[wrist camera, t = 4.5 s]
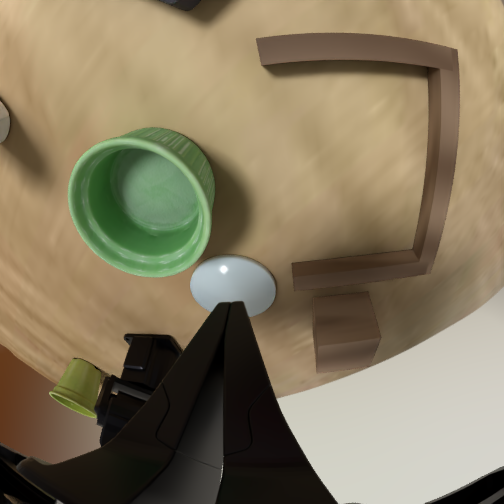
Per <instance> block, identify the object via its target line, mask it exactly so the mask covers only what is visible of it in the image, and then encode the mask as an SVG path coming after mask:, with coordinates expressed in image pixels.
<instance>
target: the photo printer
mask: <svg viewBox="0 0 504 504" xmlns="http://www.w3.org/2000/svg"><path fill="white" fill-rule="evenodd" d="M9 128H10V117H9V113H8V111H7V109H6V108H5V106H4V105H3V104H2V102H1V101H0V143H1V142H3V141H4V140H5V139H6V137H7V135H8V132H9Z"/></svg>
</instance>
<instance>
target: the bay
mask: <svg viewBox="0 0 504 504" xmlns="http://www.w3.org/2000/svg"><path fill="white" fill-rule="evenodd" d="M256 41H257V46H258V51H259V56H260V61H261V65H262V66H263V65H270V64H279V63H288V62H300V61H315V60H370V61H386V62H397V63H406V64H414V65H421V66H427V70H428V89H429V130H428V149H427V162H426V172H425V181H424V189H423V196H422V203H421V209H420V215H419V221H418V226H417V231H416V236H415V241H414V245H413V250H404V251H396V252H388V253H379V254H371V255H362V256H353V257H344V258H335V259H326V260H317V261H307V262H298V263H292V272H293V283H294V291H300V290H310V289H319V288H328V287H337V286H345V285H354V284H361V283H369V282H377V281H384V280H391V279H398V278H405V277H411V276H418V275H424V274H430V273H431V270H432V267H433V264H434V261H435V257H436V254H437V251H438V247H439V243H440V240H441V236H442V232H443V228H444V224H445V220H446V215H447V211H448V206H449V201H450V196H451V191H452V185H453V179H454V172H455V164H456V156H457V147H458V135H459V117H460V80H459V63H458V52H457V49H453V48H449V47H446V46H441V45H437V44H433V43H428V42H423V41H418V40H412V39H406V38H399V37H392V36H383V35H372V34H357V33H307V34H292V35H281V36H272V37H264V38H257V39H256Z"/></svg>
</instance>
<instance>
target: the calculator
mask: <svg viewBox="0 0 504 504" xmlns="http://www.w3.org/2000/svg"><path fill="white" fill-rule="evenodd" d="M159 1H161V2H163V3H166V4H168V5H171V6H174V7H176V8H179V9H182V10H185V11H189V10H192V9H193V8H194V7H195V6H196V5H197V4H198V3H199V2H200V1H201V0H159Z"/></svg>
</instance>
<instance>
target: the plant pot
mask: <svg viewBox="0 0 504 504" xmlns="http://www.w3.org/2000/svg"><path fill="white" fill-rule="evenodd" d="M100 379H101V372H100V371H99V370H97V369H96V368H95V367H94V366H93V365H92V364H91V363H88V362H86V361H84V360H82V359H74V358H73V359H72V361H71V362H70V364H69V366H68V367H67V369H66V371H65V373H64V374H63V376H62V378H61V379H60V381H59V383H58V385H57V386H55V388H54V389H53V391H50V392H49V394H50V396H51V397H53V398H54V399H55V400H57V401H58V402H59V403H61V404H63V405H65V406H66V407H68V408H70V409H72V410H74V411H76V412H78V413H80V414H83V415H86V416H88V417H92V418H97V415H96V413H95V411H94V407H95V404H96V401H97V397H98V390H99V384H100Z"/></svg>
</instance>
